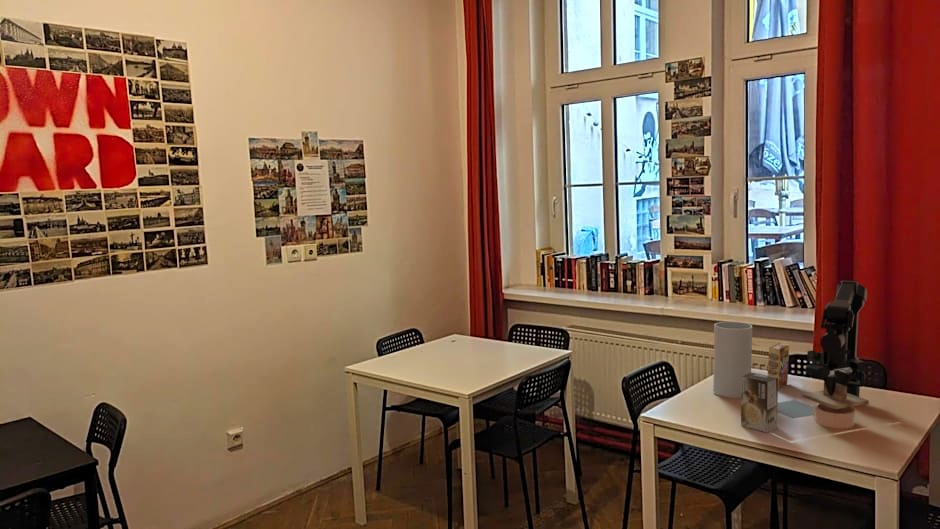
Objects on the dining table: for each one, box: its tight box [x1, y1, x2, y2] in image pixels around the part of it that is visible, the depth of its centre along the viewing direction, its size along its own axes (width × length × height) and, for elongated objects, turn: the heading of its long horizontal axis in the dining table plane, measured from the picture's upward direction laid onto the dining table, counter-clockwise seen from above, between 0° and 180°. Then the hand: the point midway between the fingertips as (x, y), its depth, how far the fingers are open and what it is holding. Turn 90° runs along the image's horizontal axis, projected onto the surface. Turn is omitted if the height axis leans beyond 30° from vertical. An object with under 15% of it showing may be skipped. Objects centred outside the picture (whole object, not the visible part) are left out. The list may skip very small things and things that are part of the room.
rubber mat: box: [777, 399, 814, 419], centre depth 234 cm, size 14×14×1 cm
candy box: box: [767, 342, 790, 389], centre depth 259 cm, size 9×4×15 cm, turn 134°
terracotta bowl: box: [813, 402, 856, 430], centre depth 221 cm, size 11×11×5 cm
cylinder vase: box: [712, 321, 753, 399], centre depth 251 cm, size 12×12×25 cm
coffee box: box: [740, 372, 779, 433], centre depth 219 cm, size 9×6×16 cm
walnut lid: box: [801, 382, 870, 409], centre depth 220 cm, size 13×13×5 cm
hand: (834, 394), depth 220 cm, fingers closed on walnut lid, 3 cm apart
